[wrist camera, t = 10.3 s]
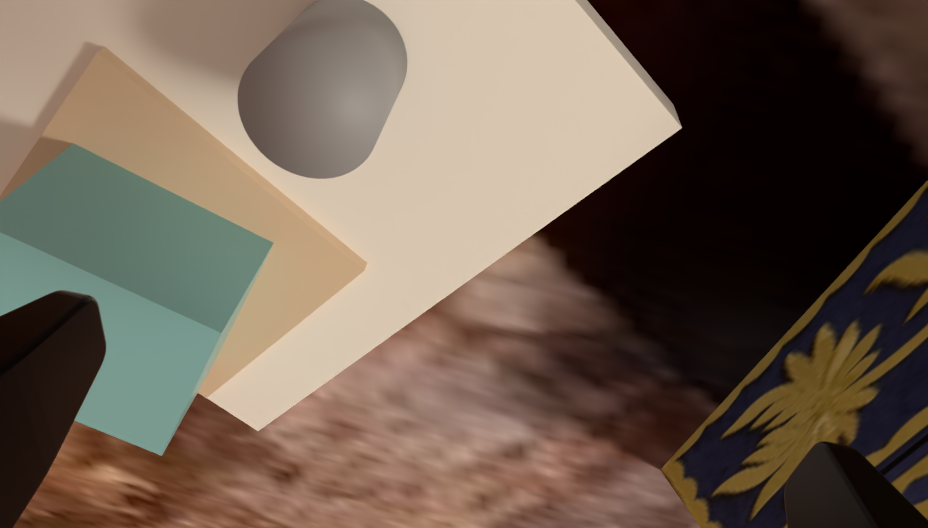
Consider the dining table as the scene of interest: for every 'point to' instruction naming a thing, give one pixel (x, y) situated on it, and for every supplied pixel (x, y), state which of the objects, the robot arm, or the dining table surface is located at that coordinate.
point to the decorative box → (826, 390)
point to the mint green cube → (130, 283)
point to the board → (426, 164)
